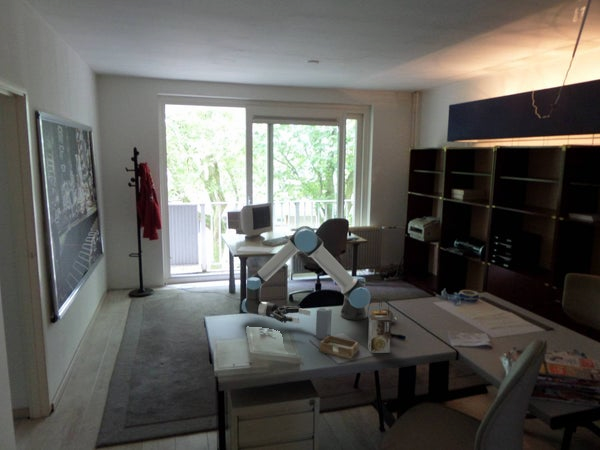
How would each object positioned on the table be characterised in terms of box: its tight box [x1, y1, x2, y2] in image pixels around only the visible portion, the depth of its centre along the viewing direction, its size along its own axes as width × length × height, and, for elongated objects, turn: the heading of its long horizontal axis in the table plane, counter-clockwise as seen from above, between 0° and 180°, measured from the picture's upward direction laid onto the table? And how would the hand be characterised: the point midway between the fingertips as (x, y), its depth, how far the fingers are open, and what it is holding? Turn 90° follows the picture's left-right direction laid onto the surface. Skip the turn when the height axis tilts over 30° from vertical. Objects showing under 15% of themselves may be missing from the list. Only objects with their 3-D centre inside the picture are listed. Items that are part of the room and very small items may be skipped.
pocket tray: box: [318, 335, 359, 359], centre depth 195 cm, size 10×16×4 cm
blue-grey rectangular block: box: [312, 307, 333, 340], centre depth 211 cm, size 5×10×15 cm, turn 64°
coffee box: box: [367, 314, 392, 354], centre depth 196 cm, size 9×6×16 cm
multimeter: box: [366, 297, 394, 339], centre depth 210 cm, size 15×10×20 cm
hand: (304, 316), depth 215 cm, fingers open, 13 cm apart
